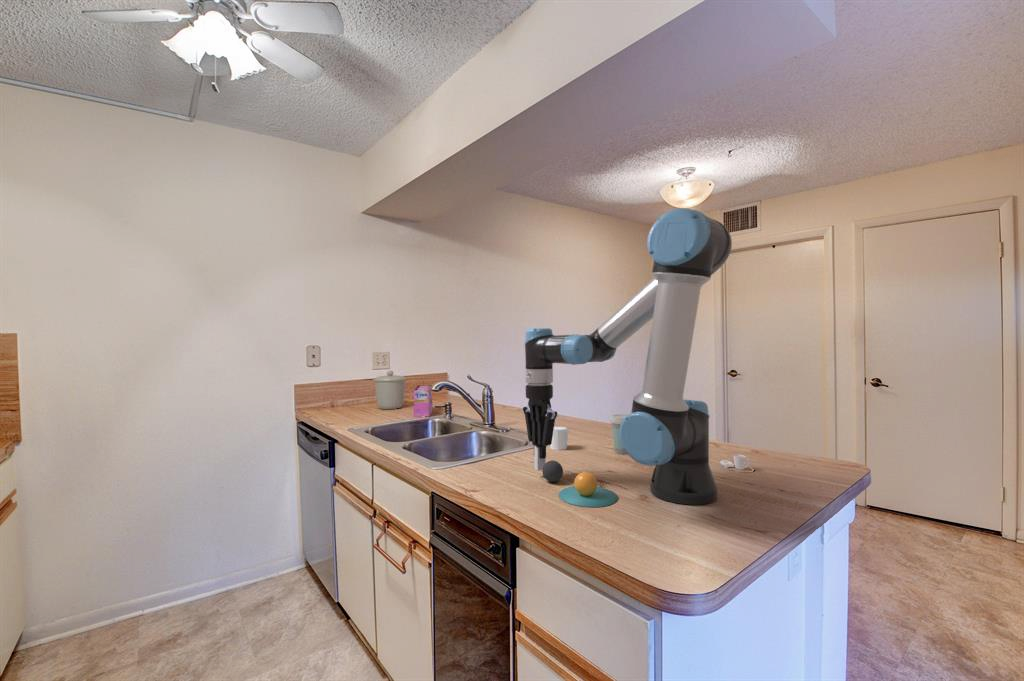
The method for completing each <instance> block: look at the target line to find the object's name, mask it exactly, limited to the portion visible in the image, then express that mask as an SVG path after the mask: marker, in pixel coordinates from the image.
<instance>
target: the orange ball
mask: <svg viewBox="0 0 1024 681" xmlns="http://www.w3.org/2000/svg"><path fill="white" fill-rule="evenodd" d="M573 484H574V486H575V489H576V491H577V492H578V493H579V494H581V495H583V496H590V495H592V494H593V493H594V492H595V491H596V489H597V487H598V481H597V479H596V477H595V476H594V474H592V473H590V472H587V471H583V472H580V473H579V474H577V475H576V477H575V478H574V481H573Z"/></svg>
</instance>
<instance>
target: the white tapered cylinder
mask: <svg viewBox="0 0 1024 681" xmlns="http://www.w3.org/2000/svg"><path fill="white" fill-rule="evenodd" d="M568 438H569V427H566V426H560V425H559V426H555V425H554V430H553V437H552V443H551V445H549V447H550V449H551V450H553V451H564V450H567V448H568Z"/></svg>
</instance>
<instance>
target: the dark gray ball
mask: <svg viewBox="0 0 1024 681" xmlns="http://www.w3.org/2000/svg"><path fill="white" fill-rule="evenodd" d="M541 472H542V476H543V478H544V479H545V480H546V481H547V482H550V483H556V482H559V481H560V480H561V479H562V477H563V474H564V468H563V466H562V465H561V463H560V462H558V461H556V460H552V459H551V460H549V461H547V462H546V461H545V464H544V466H543V469H542V470H541Z"/></svg>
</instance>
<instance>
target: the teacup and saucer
mask: <svg viewBox="0 0 1024 681" xmlns="http://www.w3.org/2000/svg"><path fill="white" fill-rule="evenodd" d="M746 461H748V464H747V465H746V463H747V462H746ZM750 463H751V461H750V459H749V458H747V455H743V454H733V462H732V461H730V460H726V459H723V460H720V463H719V464H720V465H721V466H723V467H733V468H735V469H736V468H737V470H739V469H744V470H745V469H747V466H749V465H750ZM734 465H735V466H734ZM745 466H746V467H745Z"/></svg>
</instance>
